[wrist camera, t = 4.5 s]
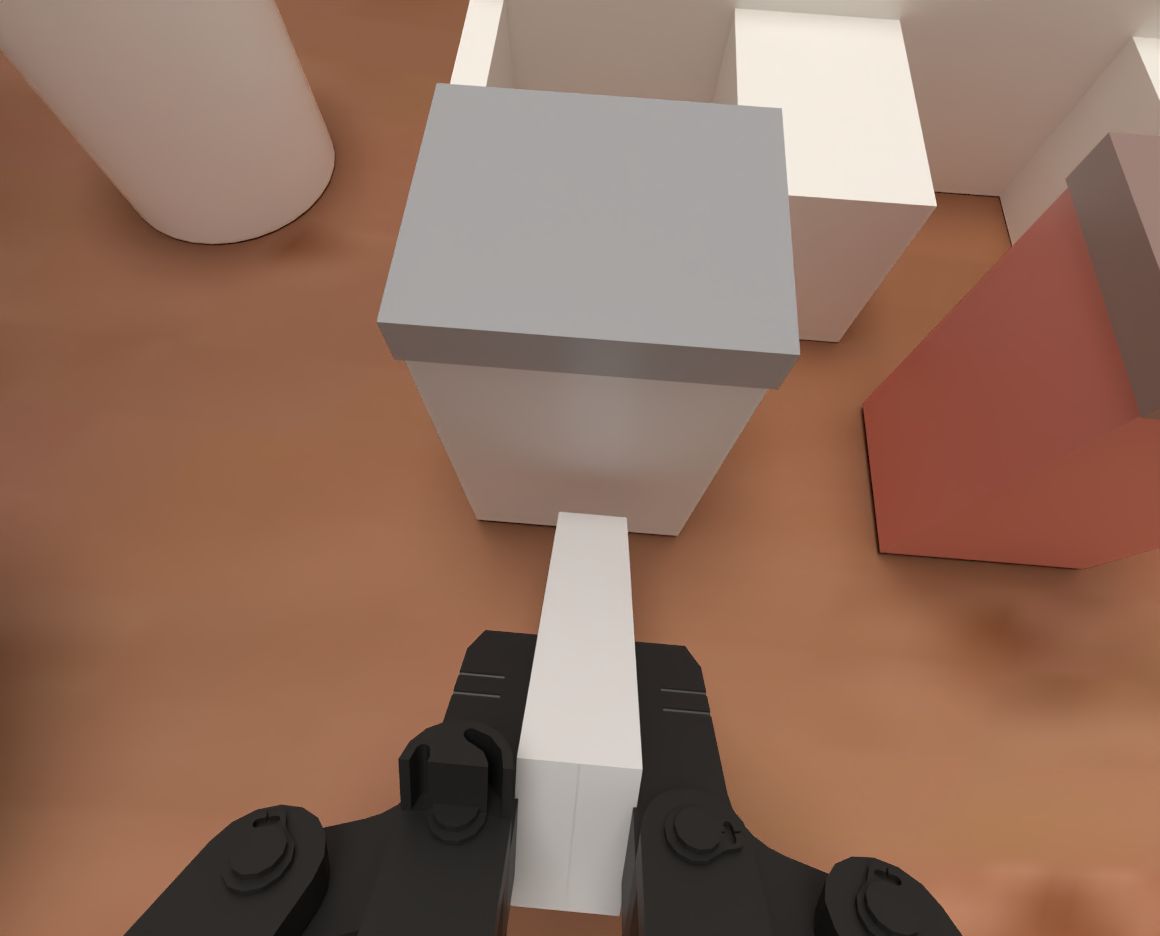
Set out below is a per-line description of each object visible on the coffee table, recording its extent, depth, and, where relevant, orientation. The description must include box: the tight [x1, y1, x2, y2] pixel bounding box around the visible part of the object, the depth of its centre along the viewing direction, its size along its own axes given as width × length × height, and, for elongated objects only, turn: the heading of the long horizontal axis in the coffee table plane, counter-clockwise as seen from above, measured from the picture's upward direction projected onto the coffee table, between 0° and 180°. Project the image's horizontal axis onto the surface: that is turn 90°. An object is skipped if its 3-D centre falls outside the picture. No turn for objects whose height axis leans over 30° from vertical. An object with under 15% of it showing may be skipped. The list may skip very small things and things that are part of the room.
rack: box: [450, 0, 1160, 342], centre depth 18 cm, size 21×10×10 cm, turn 86°
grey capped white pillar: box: [377, 83, 800, 536], centre depth 14 cm, size 6×5×10 cm
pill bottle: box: [0, 0, 335, 244], centre depth 18 cm, size 8×8×11 cm
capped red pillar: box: [863, 132, 1160, 569], centre depth 14 cm, size 6×5×10 cm
